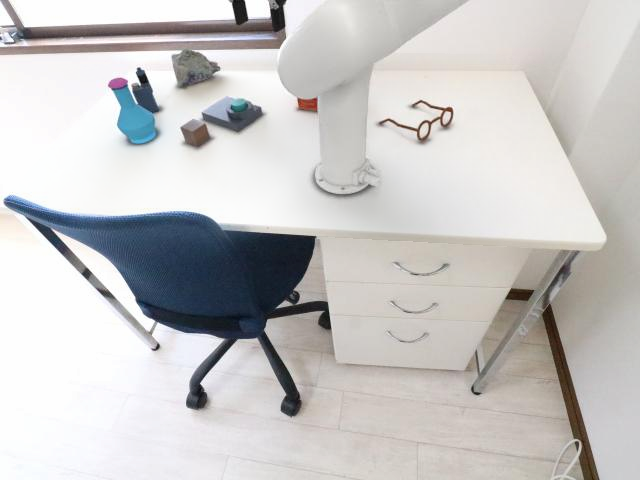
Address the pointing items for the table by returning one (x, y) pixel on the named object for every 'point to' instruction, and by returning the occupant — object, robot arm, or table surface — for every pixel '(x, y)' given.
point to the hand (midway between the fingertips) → (260, 26)
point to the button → (238, 104)
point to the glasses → (448, 109)
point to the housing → (231, 114)
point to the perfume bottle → (132, 114)
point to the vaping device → (144, 92)
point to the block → (195, 132)
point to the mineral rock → (192, 67)
